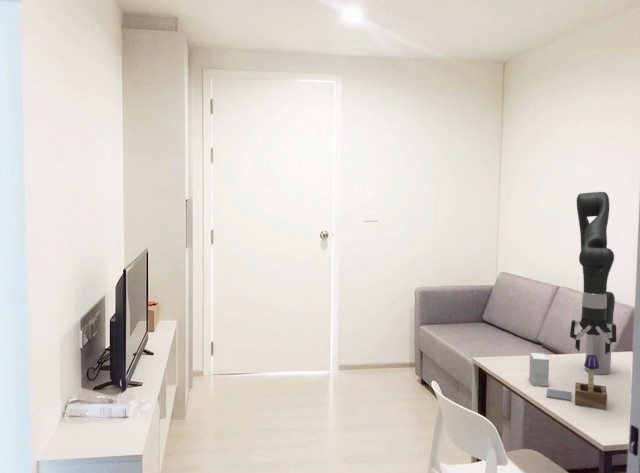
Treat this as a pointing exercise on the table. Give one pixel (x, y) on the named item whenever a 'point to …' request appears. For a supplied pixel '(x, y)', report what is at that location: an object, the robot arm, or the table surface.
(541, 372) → the small box
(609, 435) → the table surface
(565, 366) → the table surface
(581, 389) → the wooden cube shelf
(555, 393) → the slate pad
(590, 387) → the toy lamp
